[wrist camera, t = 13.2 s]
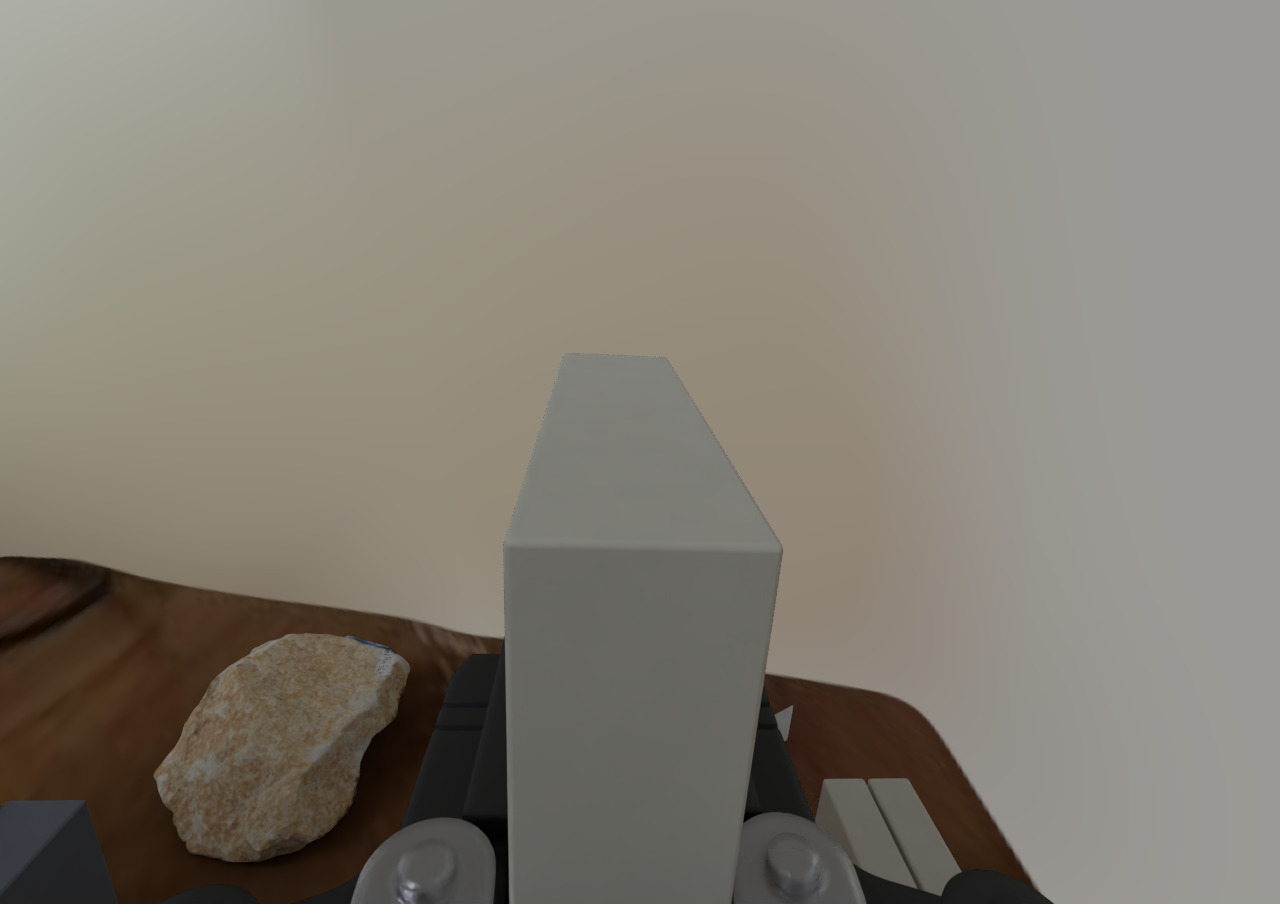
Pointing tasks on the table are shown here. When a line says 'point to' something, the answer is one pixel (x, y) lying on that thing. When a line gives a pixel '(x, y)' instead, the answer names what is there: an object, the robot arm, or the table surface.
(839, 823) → the cream books
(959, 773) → the table surface
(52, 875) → the grey books
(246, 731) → the stone
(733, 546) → the white rectangular block
